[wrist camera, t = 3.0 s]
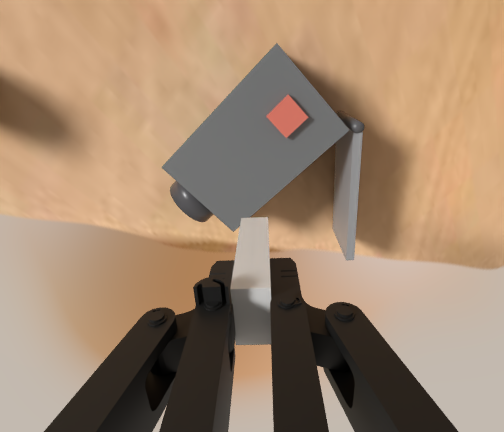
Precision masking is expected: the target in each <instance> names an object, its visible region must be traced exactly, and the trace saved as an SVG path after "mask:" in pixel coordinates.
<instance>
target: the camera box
mask: <svg viewBox="0 0 504 432" xmlns="http://www.w3.org/2000/svg"><path fill="white" fill-rule="evenodd" d="M348 131H349V129H348V128H347V126H346V125H345V124H344V123H343V122H342V120H341V119H340V118H339V117H338V116H337V114H336V113H335V112H334V111H333V110H332V108H331V107H330V106H329V105H328V104H327V102H326V101H325V100H324V99H323V98H322V96H321V95H320V94H319V93H318V92H317V91H316V89H315V88H314V87H313V86H312V85H311V83H310V82H309V81H308V80H307V79H306V77H305V76H304V75H303V74H302V73H301V71H300V70H299V69H298V68H297V67H296V65H295V64H294V63H293V62H292V61H291V59H290V58H289V57H288V56H287V55H286V53H285V52H284V51H283V50H282V49H281V47H280V46H279V45H278V44H277V43H276V44H275V46H274V47H273V48H272V49H271V50H270V51H269V52H268V53H267V54H266V55H265V56H264V57H263V58H262V60H261V61H260V62H259V63H258V64H257V65H256V66H255V67H254V68H253V69H252V70H251V71H250V72H249V74H248V75H247V76H246V77H245V78H244V79H243V80H242V81H241V82H240V83H239V84H238V85H237V86H236V88H235V89H234V90H233V91H232V92H231V93H230V94H229V95H228V96H227V97H226V98H225V99H224V101H223V102H222V103H221V104H220V105H219V106H218V107H217V108H216V109H215V110H214V111H213V112H212V113H211V115H210V116H209V117H208V118H207V119H206V120H205V121H204V122H203V123H202V124H201V125H200V126H199V127H198V129H197V130H196V131H195V132H194V133H193V134H192V135H191V136H190V137H189V138H188V139H187V140H186V141H185V143H184V144H183V145H182V146H181V147H180V148H179V149H178V150H177V151H176V152H175V153H174V154H173V156H172V157H171V158H170V159H169V160H168V161H167V162H166V163H165V164H164V165H163V166H162V168H163V169H164V170H165V171H166V172H167V173H168V174H169V175H171V176H172V177H173V178H174V179H175V180H176V181H175V183H174V184H173V185H172V186H171V187H170V193H171V196H172V198H173V200H174V202H175V203H176V204H177V206H178V207H179V208H180V209H181V210H182V211H183V212H184V213H185V214H186V215H188V216H189V217H191V218H192V219H194V220H196V221H199V222H205V221H207V220H208V219H209V218H210V217H211V216H212V215H215V216H216V217H217V218H219V219H220V220H221V221H222V222H223V223H224V224H225V225H226V226H227V227H229V228H230V229H231V230H232V231H233V232H234V231H235V230H236V229H237V228H238V227H239V226H240V223H241V218H250V217H251V216H252V215H253V214H254V213H255V212H257V211H258V210H259V209H260V208H261V207H262V206H263V205H265V204H266V203H267V202H268V201H269V200H270V199H271V198H273V197H274V196H275V195H276V194H277V193H278V192H279V191H281V190H282V189H283V188H284V187H285V186H286V185H287V184H289V183H290V182H291V181H292V180H293V179H294V178H295V177H297V176H298V175H299V174H300V173H301V172H302V171H303V170H305V169H306V168H307V167H308V166H309V165H310V164H311V163H313V162H314V161H315V160H316V159H317V158H318V157H319V156H321V155H322V154H323V153H324V152H325V151H326V150H327V149H329V148H330V147H331V146H332V145H333V144H334V143H336V142H337V141H338V140H339V139H340V138H341V137H342V136H344V135H345V134H346V133H347V132H348Z"/></svg>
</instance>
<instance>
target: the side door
mask: <svg viewBox="0 0 504 432" xmlns="http://www.w3.org/2000/svg"><path fill="white" fill-rule="evenodd" d="M337 116H338V117H339V118H340V119H341V120H342V122H343V123H344V124H345V125H346V126H347V128H348V129H349V131H348V132H347V133H346V134H345V135H344V136H342V137H341V138H340V139H339V140H338V141H337V142H336V147H335V177H334V206H333V231H334V233H335V236H336V238H337V240H338V243H339V245H340V247H341V250H342V252H343V254H344V257H345V259H346V260H354V252H355V237H356V223H357V208H358V194H359V179H360V165H361V150H362V136H363V132H362V131H363V130H364V124H363V123H362V122H360V121H358V120H357V119H355V118H353V117H351V116H350V115H348V114H346V113H344V112H343V111H339V112H338V113H337Z"/></svg>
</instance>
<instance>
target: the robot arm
mask: <svg viewBox="0 0 504 432" xmlns="http://www.w3.org/2000/svg"><path fill="white" fill-rule="evenodd" d="M193 289H194V295H195V302H196V307H195V309H193V310H191V311H189V312H186V313H183V314H179V315H175V313H174V312H173V311H172V310H171V309H168V308H156V309H152V310H150V311H148V312H146V313H145V314H144V315H143V316H142V317H141V318H140V319H139V320H138V321H137V323H136V324H135V325H134V326H133V327H132V329H131V330H130V331H129V332H128V333H127V334H126V336H125V337H124V338H123V339H122V340H121V342H120V343H119V344H118V345H117V346H116V347H115V349H114V350H113V351H112V352H111V353H110V354H109V356H108V357H107V358H106V359H105V360H104V362H103V363H102V364H101V365H100V366H99V368H98V369H97V370H96V371H95V372H94V373H93V374H92V376H91V377H90V378H89V379H88V380H87V382H86V383H85V384H84V385H83V386H82V387H81V389H80V390H79V391H78V392H77V393H76V395H75V396H74V397H73V398H72V399H71V400H70V402H69V403H68V404H67V405H66V406H65V408H64V409H63V410H62V411H61V412H60V413H59V415H58V416H57V417H56V418H55V419H54V420H53V422H52V423H51V424H50V425H49V426H48V428H47V429H46V430H45V431H44V432H152V431H153V429H154V428H155V426H156V424H157V422H158V420H159V418H160V417H161V415H162V413H163V411H164V409H165V407H166V406H167V407H166V411H165V414H164V417H163V421H162V424H161V428H160V431H159V432H228V427H229V416H230V406H231V405H230V404H231V395H232V384H233V374H234V364H235V349H234V344H235V342H236V345H257V344H258V345H259V344H261V345H262V344H271V351H272V386H273V420H274V432H329V430H328V424H327V419H326V413H325V408H324V403H323V397H322V392H321V386H320V381H319V376H318V370H317V366H321V367H323V368H324V372H325V374H326V376H327V378H328V380H329V381H330V384H331V386H332V388H333V389H334V391H335V394H336V396H337V398H338V400H339V402H340V404H341V405H342V407H343V409H344V411H345V414H346V416H347V417H348V420H349V422H350V423H351V425H352V427H353V429H354V431H355V432H458V431H457V429H456V428H455V427H454V426H453V424H452V423H451V422H450V421H449V420H448V418H447V417H446V416H445V414H444V413H443V412H442V411H441V409H440V408H439V407H438V406H437V404H436V403H435V402H434V401H433V399H432V398H431V397H430V396H429V394H428V393H427V392H426V391H425V390H424V388H423V387H422V386H421V384H420V383H419V382H418V381H417V380H416V378H415V377H414V376H413V374H412V373H411V372H410V371H409V369H408V368H407V367H406V366H405V364H404V363H403V362H402V361H401V359H400V358H399V357H398V356H397V354H396V353H395V352H394V351H393V350H392V348H391V347H390V346H389V344H388V343H387V342H386V341H385V339H384V338H383V337H382V336H381V335H380V333H379V332H378V331H377V329H376V328H375V327H374V326H373V325H372V323H371V322H370V321H369V320H368V318H367V317H366V316H365V314H363V312H362V311H361V310H360V309H359V308H358V307H357V306H354V305H352V304H350V303H345V302H337V303H333V304H331V305H329V306H328V307H327V308H326V310H322V309H318V308H314V307H312V306H310V305H308V304H307V303H306V302H305V301H304V299H303V298H302V295H301V290H300V285H299V279H298V273H297V268H296V263H295V262H294V261H293V260H292V259H291V258H276V259H275V258H274V259H273V258H271V259H270V257H269V231H268V217H255V218H241V223H240V229H239V236H238V242H237V249H236V255H235V260H234V261H233V260H232V261H217V262H216V263H215V264H214V265H213V266H212V267H211V271H210V275H209V278H205V279H203V280H200V281H199V282H197V283H196V284H195V286H194V287H193Z"/></svg>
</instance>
